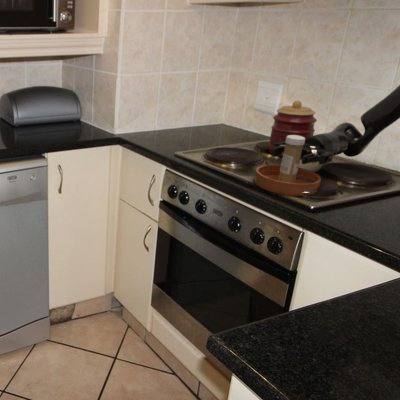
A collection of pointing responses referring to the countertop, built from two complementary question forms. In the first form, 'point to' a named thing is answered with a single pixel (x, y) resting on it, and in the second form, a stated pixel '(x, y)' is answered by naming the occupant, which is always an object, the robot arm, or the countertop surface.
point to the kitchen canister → (292, 123)
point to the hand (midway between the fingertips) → (288, 156)
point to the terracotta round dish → (269, 181)
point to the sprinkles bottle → (291, 158)
